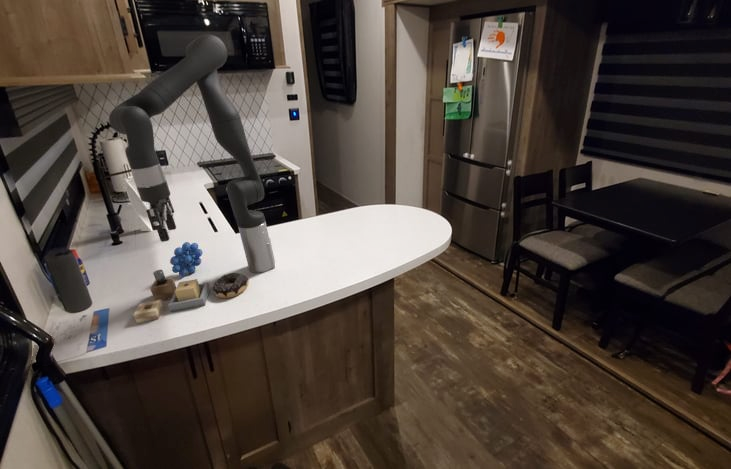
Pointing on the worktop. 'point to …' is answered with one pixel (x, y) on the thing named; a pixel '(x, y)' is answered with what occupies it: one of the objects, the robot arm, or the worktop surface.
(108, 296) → the worktop surface
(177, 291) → the block
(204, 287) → the tray
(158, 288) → the block
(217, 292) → the donut
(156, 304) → the stand
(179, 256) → the grapes
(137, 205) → the skyscraper
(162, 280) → the cylinder
